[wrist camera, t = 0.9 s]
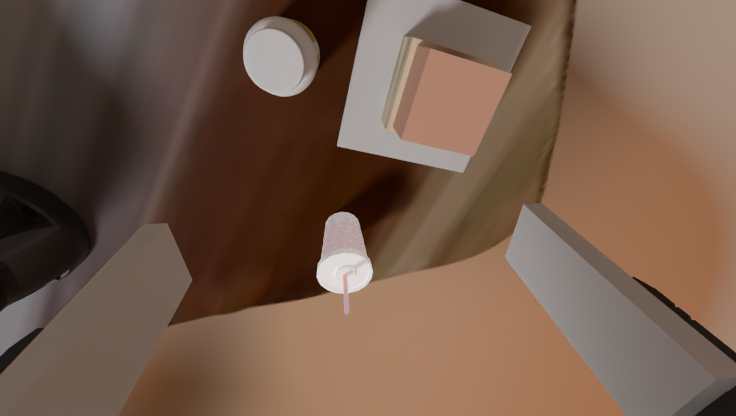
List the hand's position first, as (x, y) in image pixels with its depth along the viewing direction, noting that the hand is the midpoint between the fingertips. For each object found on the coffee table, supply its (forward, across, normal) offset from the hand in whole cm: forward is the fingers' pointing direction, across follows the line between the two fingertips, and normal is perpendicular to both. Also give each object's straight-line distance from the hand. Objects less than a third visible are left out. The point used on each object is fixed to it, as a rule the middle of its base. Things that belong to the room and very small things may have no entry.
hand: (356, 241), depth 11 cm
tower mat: (+23, +9, +2) cm, 25 cm away
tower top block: (+18, +9, +2) cm, 21 cm away
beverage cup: (+23, 0, -16) cm, 28 cm away
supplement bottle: (+23, -4, +5) cm, 24 cm away
